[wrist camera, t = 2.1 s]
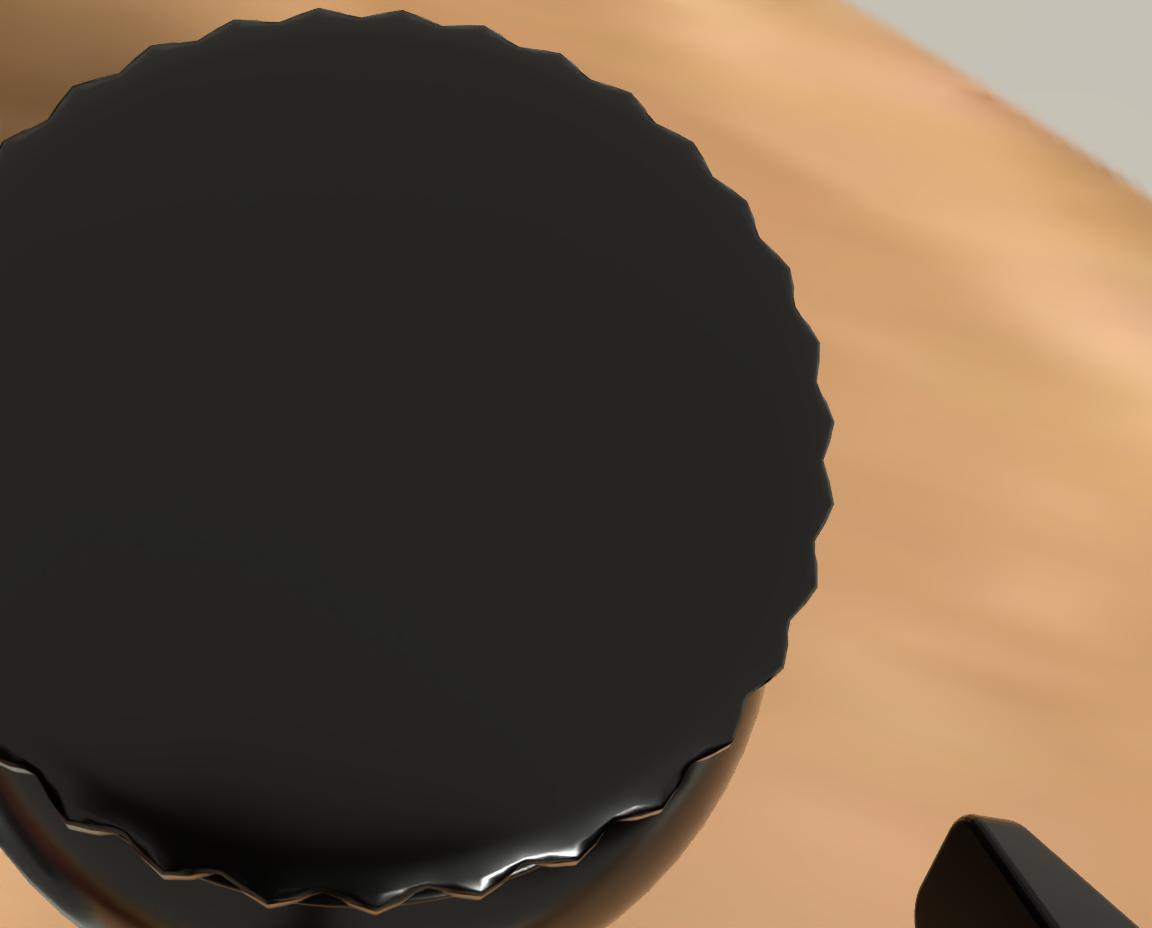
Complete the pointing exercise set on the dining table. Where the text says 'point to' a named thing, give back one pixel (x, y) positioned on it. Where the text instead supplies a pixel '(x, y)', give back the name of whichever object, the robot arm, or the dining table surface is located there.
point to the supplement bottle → (384, 485)
